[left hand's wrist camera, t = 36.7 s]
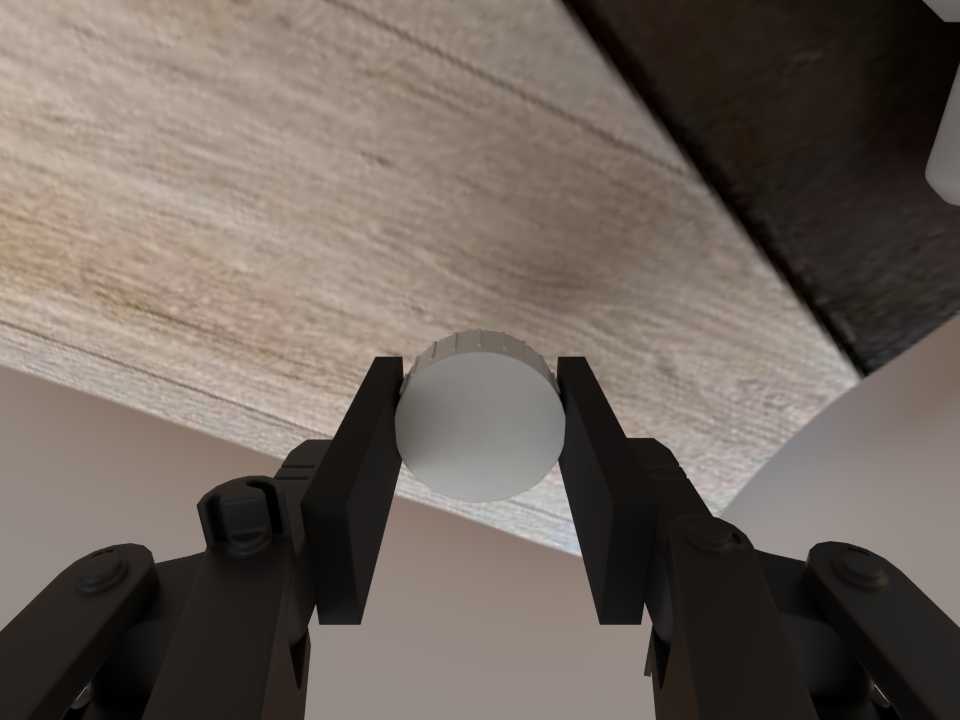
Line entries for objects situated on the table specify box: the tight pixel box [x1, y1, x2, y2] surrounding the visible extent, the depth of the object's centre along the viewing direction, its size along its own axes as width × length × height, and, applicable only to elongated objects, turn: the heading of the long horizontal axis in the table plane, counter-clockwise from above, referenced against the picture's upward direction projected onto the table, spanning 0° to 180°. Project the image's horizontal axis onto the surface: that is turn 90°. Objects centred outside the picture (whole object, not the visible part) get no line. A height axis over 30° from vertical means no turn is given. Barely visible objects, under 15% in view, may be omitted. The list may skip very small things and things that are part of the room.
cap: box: [395, 329, 565, 503], centre depth 14 cm, size 5×5×2 cm
